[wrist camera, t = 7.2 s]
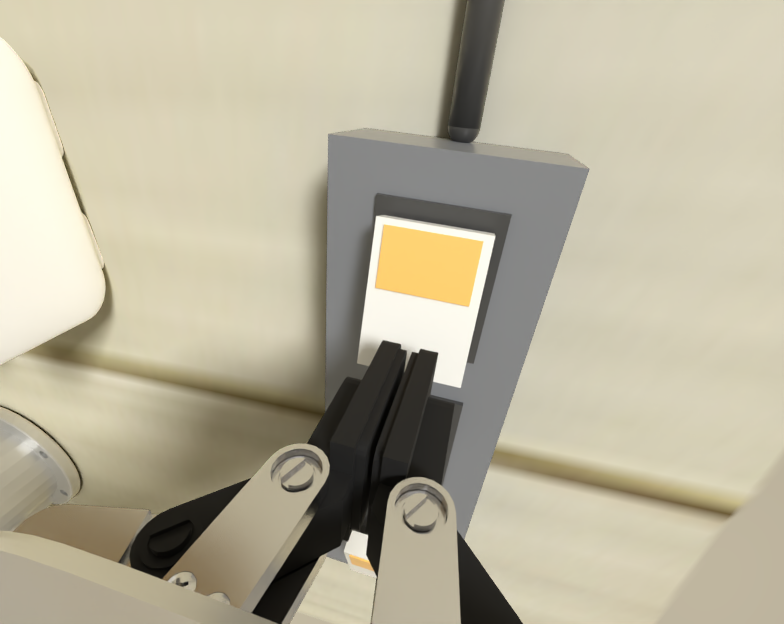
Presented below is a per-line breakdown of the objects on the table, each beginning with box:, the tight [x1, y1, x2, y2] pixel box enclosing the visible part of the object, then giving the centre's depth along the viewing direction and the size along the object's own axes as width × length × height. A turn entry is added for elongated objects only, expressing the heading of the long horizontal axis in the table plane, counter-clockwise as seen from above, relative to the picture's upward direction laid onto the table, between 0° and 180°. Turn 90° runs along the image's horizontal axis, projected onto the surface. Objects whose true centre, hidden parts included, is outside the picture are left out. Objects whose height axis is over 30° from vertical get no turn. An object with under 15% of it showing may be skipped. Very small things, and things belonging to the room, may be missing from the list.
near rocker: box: [357, 215, 495, 388], centre depth 12 cm, size 5×4×1 cm
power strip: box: [325, 0, 589, 564], centre depth 17 cm, size 34×8×5 cm, turn 174°
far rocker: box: [344, 530, 377, 578], centre depth 20 cm, size 5×4×1 cm
